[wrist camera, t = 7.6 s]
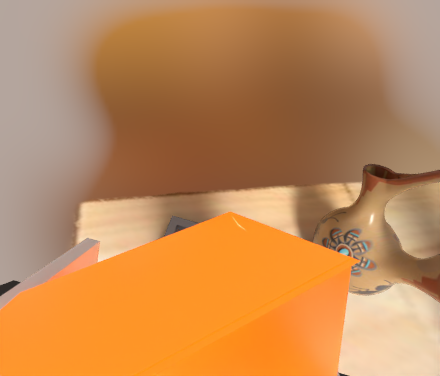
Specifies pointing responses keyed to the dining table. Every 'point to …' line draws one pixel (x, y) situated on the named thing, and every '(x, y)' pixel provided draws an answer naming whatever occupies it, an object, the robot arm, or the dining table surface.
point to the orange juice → (187, 309)
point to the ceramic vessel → (378, 236)
